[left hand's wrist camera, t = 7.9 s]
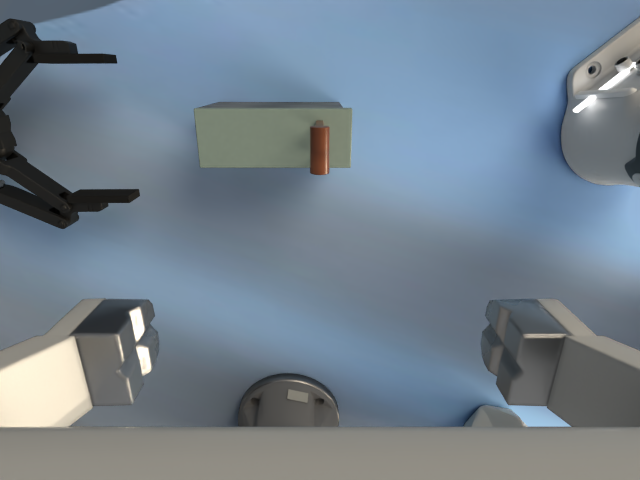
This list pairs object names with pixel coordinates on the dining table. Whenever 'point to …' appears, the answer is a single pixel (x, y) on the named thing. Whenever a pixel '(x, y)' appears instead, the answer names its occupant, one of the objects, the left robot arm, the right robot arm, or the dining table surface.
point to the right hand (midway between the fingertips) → (123, 131)
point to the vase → (494, 418)
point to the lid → (274, 138)
